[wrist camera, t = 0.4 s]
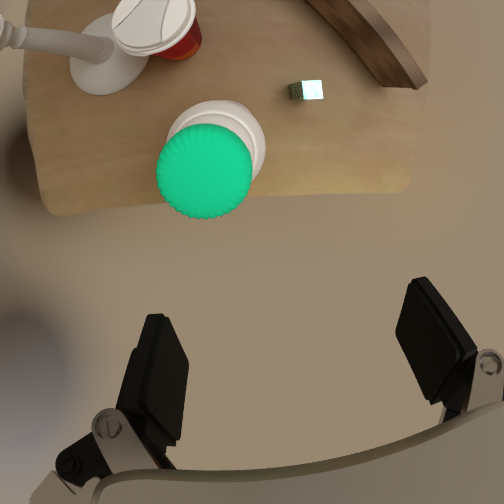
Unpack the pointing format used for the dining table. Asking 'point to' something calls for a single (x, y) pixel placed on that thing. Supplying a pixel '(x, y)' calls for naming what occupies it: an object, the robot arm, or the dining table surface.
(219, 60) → the dining table surface
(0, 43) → the candlestick
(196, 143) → the water bottle
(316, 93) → the gate posts
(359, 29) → the gate
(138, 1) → the paper cup
